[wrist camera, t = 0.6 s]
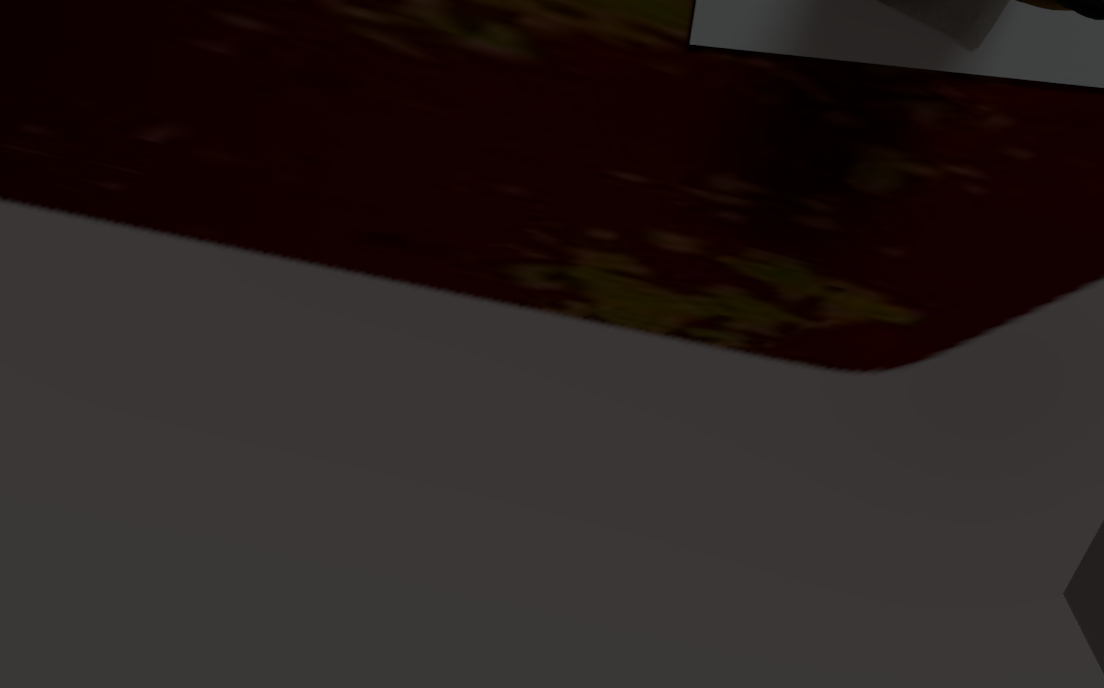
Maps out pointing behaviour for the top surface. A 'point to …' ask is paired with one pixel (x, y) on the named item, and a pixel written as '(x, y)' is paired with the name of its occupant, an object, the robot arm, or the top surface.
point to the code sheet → (909, 38)
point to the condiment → (981, 14)
